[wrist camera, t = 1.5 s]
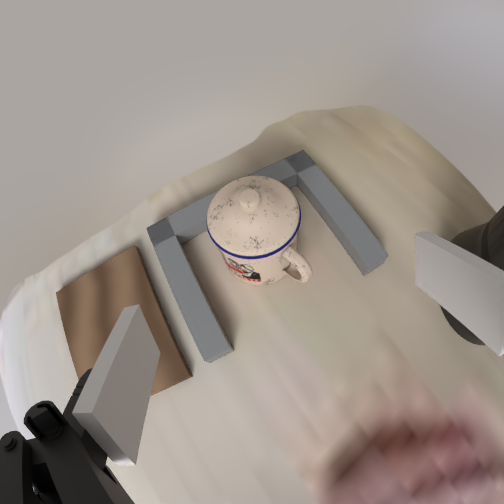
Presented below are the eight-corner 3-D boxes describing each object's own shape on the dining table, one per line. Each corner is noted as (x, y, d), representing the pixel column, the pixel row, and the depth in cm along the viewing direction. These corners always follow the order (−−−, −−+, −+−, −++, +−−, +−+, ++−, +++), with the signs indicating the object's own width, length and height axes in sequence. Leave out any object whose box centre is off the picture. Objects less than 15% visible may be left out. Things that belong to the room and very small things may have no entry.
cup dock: (303, 161, 42) (303, 150, 40) (382, 263, 35) (388, 254, 33) (153, 237, 40) (146, 228, 38) (210, 362, 32) (204, 360, 30)
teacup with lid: (208, 253, 38) (178, 200, 28) (260, 206, 40) (250, 143, 30) (278, 321, 34) (273, 289, 23) (332, 265, 36) (349, 213, 25)
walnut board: (138, 249, 39) (135, 245, 38) (192, 376, 32) (189, 375, 31) (60, 295, 38) (55, 292, 37) (97, 417, 30) (92, 417, 29)
